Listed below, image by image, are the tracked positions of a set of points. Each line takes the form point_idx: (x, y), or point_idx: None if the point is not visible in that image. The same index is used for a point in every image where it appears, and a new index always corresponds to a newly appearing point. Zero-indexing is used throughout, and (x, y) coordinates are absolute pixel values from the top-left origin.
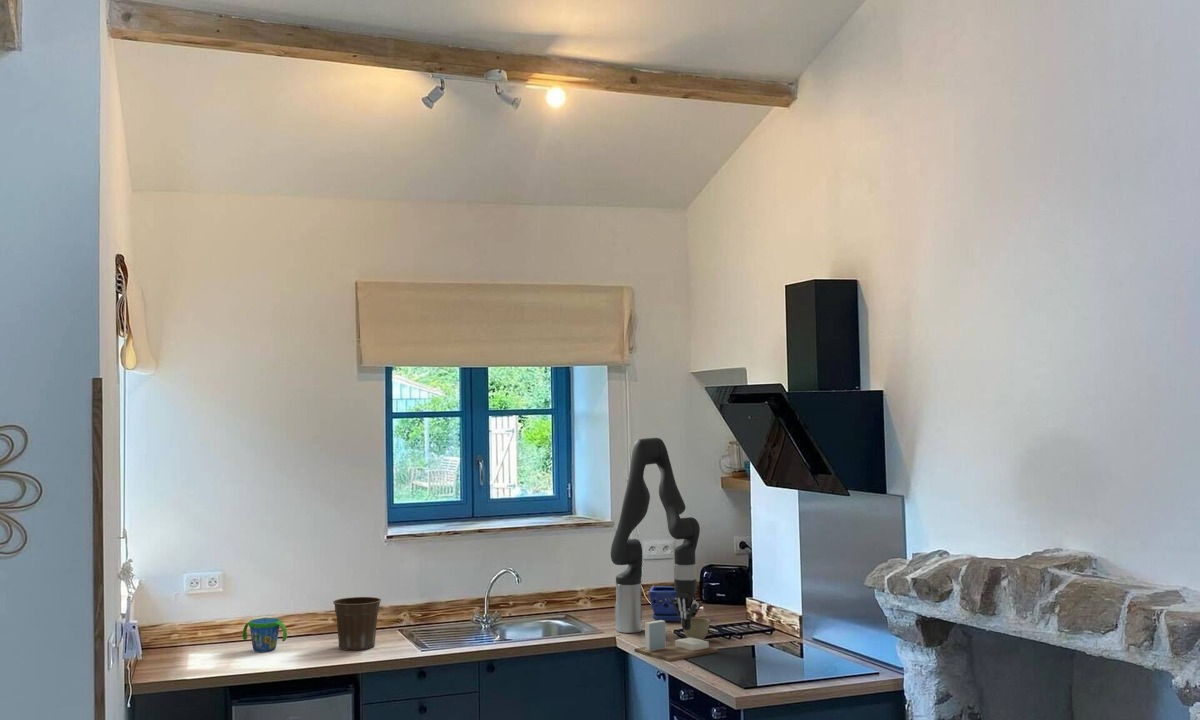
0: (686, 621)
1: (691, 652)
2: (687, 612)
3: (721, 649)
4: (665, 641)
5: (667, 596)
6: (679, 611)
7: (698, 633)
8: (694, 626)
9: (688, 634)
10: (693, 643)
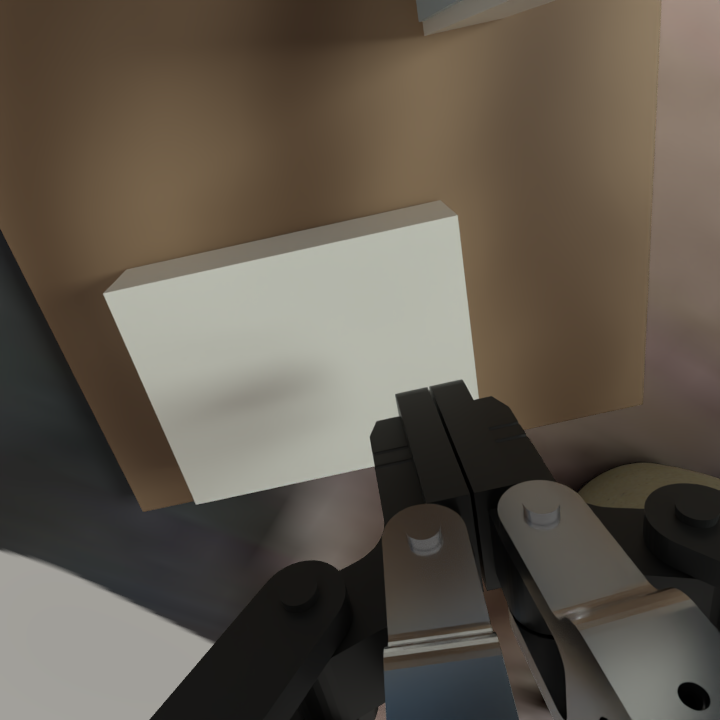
0: (405, 492)
1: (62, 220)
2: (541, 684)
3: (238, 548)
4: (444, 25)
5: None
6: (714, 582)
7: None
8: None
9: (648, 487)
10: (161, 328)
